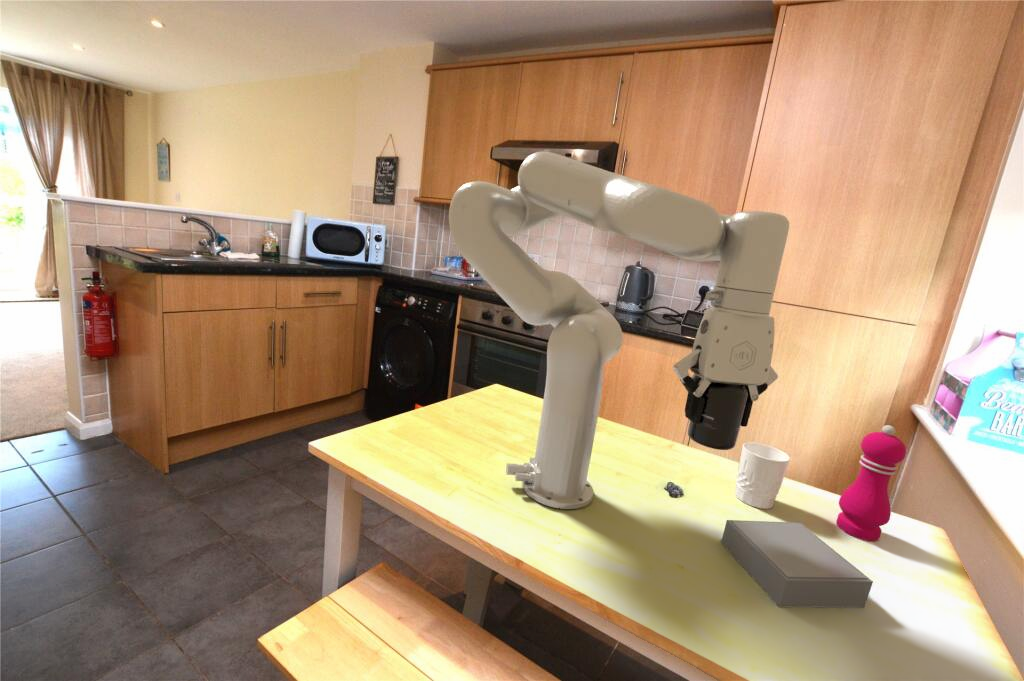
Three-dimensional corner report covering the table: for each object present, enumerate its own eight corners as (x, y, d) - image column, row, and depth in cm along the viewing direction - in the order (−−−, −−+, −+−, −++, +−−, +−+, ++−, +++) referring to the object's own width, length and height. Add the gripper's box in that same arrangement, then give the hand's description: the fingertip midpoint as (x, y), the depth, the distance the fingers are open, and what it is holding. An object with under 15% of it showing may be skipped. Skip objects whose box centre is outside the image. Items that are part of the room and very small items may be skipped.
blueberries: (656, 501, 84) (658, 493, 83) (648, 477, 91) (650, 469, 91) (693, 508, 83) (696, 499, 83) (682, 483, 91) (684, 475, 90)
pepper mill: (869, 547, 77) (905, 436, 73) (824, 522, 83) (855, 418, 79) (890, 539, 80) (926, 432, 76) (845, 515, 86) (876, 416, 82)
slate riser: (779, 607, 60) (787, 579, 59) (721, 542, 72) (726, 519, 71) (864, 607, 62) (873, 580, 61) (793, 544, 74) (800, 521, 73)
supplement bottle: (686, 443, 67) (702, 363, 64) (687, 428, 73) (702, 355, 71) (737, 455, 64) (756, 373, 62) (734, 439, 71) (751, 364, 68)
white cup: (783, 515, 83) (797, 464, 81) (737, 505, 85) (750, 455, 83) (768, 493, 91) (780, 447, 89) (726, 485, 92) (737, 439, 90)
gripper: (698, 299, 60) (673, 428, 63) (815, 312, 62) (785, 435, 66) (671, 293, 67) (649, 409, 70) (777, 305, 70) (751, 415, 73)
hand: (715, 420), depth 68 cm, fingers closed on supplement bottle, 6 cm apart
